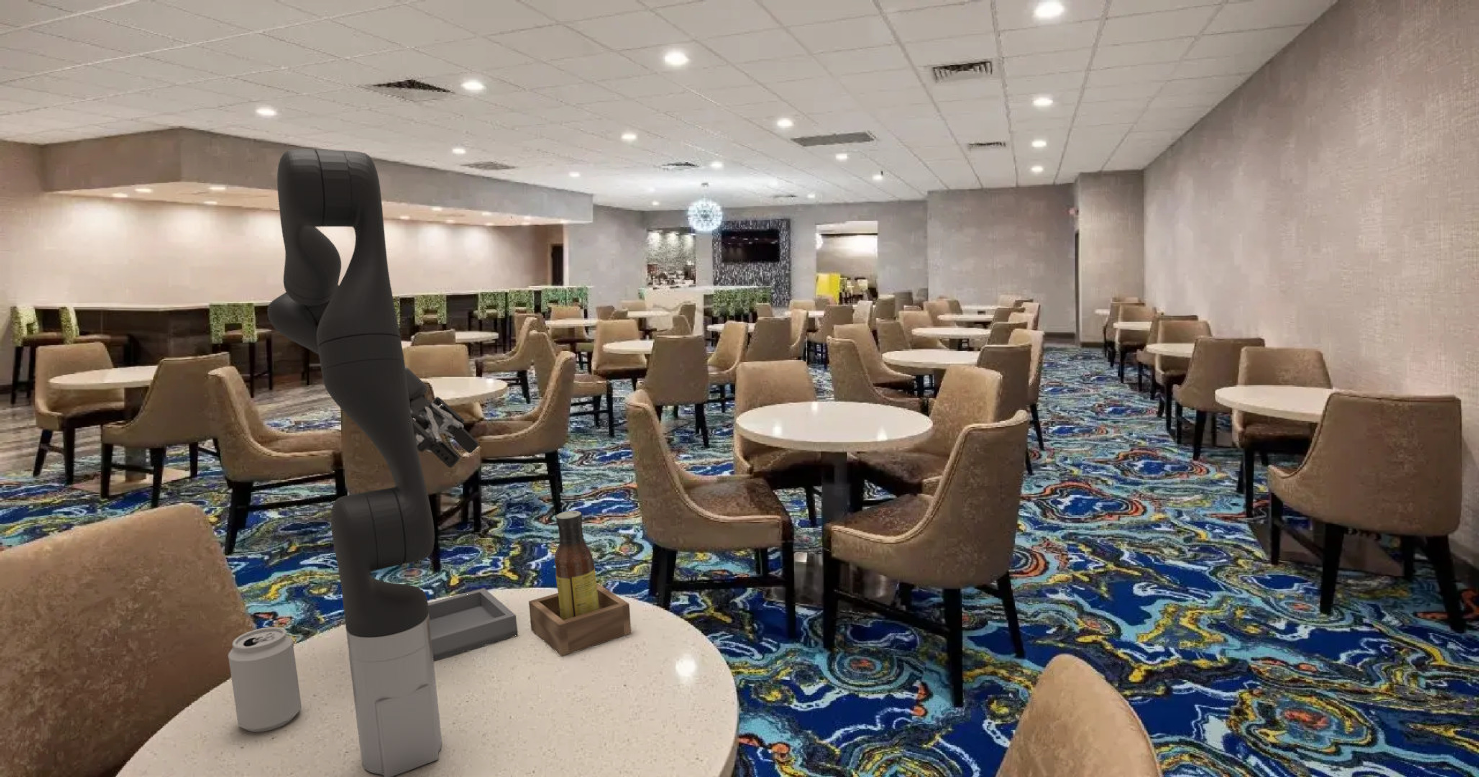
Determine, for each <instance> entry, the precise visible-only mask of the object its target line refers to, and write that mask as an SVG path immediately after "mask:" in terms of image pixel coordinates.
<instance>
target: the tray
mask: <svg viewBox="0 0 1479 777" xmlns="http://www.w3.org/2000/svg"><path fill="white" fill-rule="evenodd" d="M467 594H468V595H467ZM428 610H429V620H430V630H431V641H432V651H433V660H434V662H436V661H439V660H443V659H445V658H449V657H452V656H456V655H459V654H462V653H466V652H469V651H471V650H475V649H478V648H482V647H484V646H488V645H492V644H494V643H498V642H501V640H502V641H504V640H508V639H511V637H512V636H515V635H518V636H519V634H518V623H517V614H515V613H514V612H513V611H511V609H510V608H508V607H507V606H506V605H505V604H503V602H501V601H500V600H499V599H498V598H497V597H495V596H494V595H493V594H492V593H491V592H489V590H487V589H486V588H485V587H483V588H480V589H475V590H471V591H467V592H465V593H461V594H457V595H453V596H449V597H445V598H441V599H439V600H434V601H431V602H428ZM515 637H516V636H515ZM507 638H508V639H507ZM512 638H513V637H512ZM468 650H469V651H468Z"/></svg>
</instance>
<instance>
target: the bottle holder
mask: <svg viewBox="0 0 1479 777" xmlns="http://www.w3.org/2000/svg"><path fill="white" fill-rule="evenodd" d="M596 584H597V593H598V601H599V610H596V611H593V612H589V613H586V614H583V615H580V616H576V617H573V618H570V619H566V620H562V619H561V616H560V607H559V597H558V592H557V593H553V594H550V595H549V594H548V595H546V596H543V597H539V598H536V599H531V600H529V601H528V608H529V620H530V621H529V622H530V629H531V630H530V631H531V632H533V633H534V634H535V633H536V634H537V637H539V638H540V639H541V640H542V641H543V640H544V641H543V642H544V643H545V644H547V645H548V646H549V645H550V646H549V647H550V648H552V649H553V651H555V650H556V651H557V652H556V651H555V652H556V653H557V654H558V655H560V656H561V657H564V656H567V655H570V654H573V653H576V652H578V651H581V650H584V649H587V648H590V647H591V648H592V647H593V646H596V645H600V644H603V643H606V642H609V641H611V640H615V639H618V638H621V637H624V636H626V635H629V634H632V627H631V610H630V609H631V608H630V603H629V602H627V601H626V600H624V599H623V598H621V597H619V595H617V594H614V593H613V592H611V591H610V590H608V589H607V588H605V587H604V586H602V585H601V584H600V583H597V582H596ZM536 634H535V635H536Z"/></svg>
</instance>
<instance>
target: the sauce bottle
mask: <svg viewBox="0 0 1479 777" xmlns="http://www.w3.org/2000/svg"><path fill="white" fill-rule="evenodd" d="M555 519H556V520H555V521H556V525H557V528H558V536H559V537H558V538H559V539H558V540H559V541H558V542H559V545H558V546H557V548H556V551H555V553H554V564H555V580H556V588H557V593H558V597H559V607H560V616H561V619H562V620H566V619H570V618H573V617H576V616H580V615H583V614H586V613H589V612H593V611H596V610H599V601H598V593H597V584H598V583H597V577H596V566H595V562H594V557H593V555H592V552H591V551H590V549H589V547H588V545H587V543H586V542H585V539H584V538H585V537H584V531H583V524H582V523H583V514H582V512H581V511H578V510H569V511H568V510H567V511H564V512H560V513H558V514H556V516H555ZM596 583H597V584H596Z"/></svg>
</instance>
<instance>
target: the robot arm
mask: <svg viewBox="0 0 1479 777" xmlns="http://www.w3.org/2000/svg"><path fill="white" fill-rule="evenodd" d="M276 182H277V183H276V184H277V195H278V196H277V198H278V199H277V200H278V207H279V217H280V225H281V234H282V239H283V245H284V251H285V252H284V253H285V254H284V255H285V257H284V266H283V267H284V269H283V281H282V282H283V288H284V290H285V292H284V293H282V294H281V295H279V296H278V297H276V298H275V299H273V300H272V301H271V302H270V303H269V304H268V307H267V317H268V319H269V322H270V324H271V326H272V327H273V328H274V329H275V330H276V331H277V332H278V333H279V334H281V335H282V336H283V337H285V338H287V339H289V340H290V341H292V342H294V343H296V344H298V345H300V346H301V347H304V348H306V349H308V350H310V351H311V352H313V353H315V354H317V355H318V356H319V357H318V358H319V362H320V363H319V364H320V371H321V374H322V375H321V376H322V381H323V385H324V387H325V390H326V392H327V393H328V394H329V396H330V397H331V399H332V400H333V401H334V402H335V403H336V405H337V406H338V407H339V408H340V409H341V410H342V411H343V413H345V414H346V416H347V417H349V419H350V420H352V421H353V422H354V424H356V425H357V427H358V428H359V429H361V430H362V432H363V433H364V434H365V435H366V436H367V437H368V438H369V439H370V440H371V442H372V443H373V445H374V446H375V447H376V448H377V450H378V451H379V452H380V454H381V456H382V457H383V459H384V461H385V463H386V465H387V467H388V469H389V471H390V473H391V477H392V479H393V482H394V485H395V486H394V487H387V488H382V489H376V490H369V491H364V492H358V493H352V494H348V495H344V496H339V497H338V498H337V499H336V500H334V501H333V502H334V503H333V504H332V506H331V511H330V530H331V537H332V544H333V548H334V553H335V558H336V559H335V560H336V564H337V569H338V574H339V580H340V581H339V582H340V588H341V594H342V595H341V596H342V602H343V603H342V605H343V613H344V622H345V632H346V640H347V650H348V658H349V665H350V666H349V667H350V675H351V684H352V691H353V700H354V709H355V719H356V725H357V726H356V727H357V733H358V734H357V735H358V740H359V741H358V742H359V748H360V759H361V765H362V767H363V769H365V770H366V771H367V772H370V773H372V774H375V775H376V774H377V775H381V776H382V777H395V776H398V775H401V774H404V773H406V772H408V771H411V770H414V769H417V768H420V767H421V766H425V765H427V764H430V763H433V762H435V761H437V760H438V759H439V753H440V750H441V749H442V745H443V742H442V741H443V740H442V732H441V731H442V730H441V729H442V728H441V721H440V720H441V719H440V711H439V702H438V693H437V691H438V690H437V682H436V671H435V661H434V660H433V651H432V641H431V630H430V620H429V610H428V603H429V602H428V598H427V597H428V596H427V595H426V593H425V591H424V590H422V588H420V587H418V586H415V585H410V584H405V583H394V582H388V581H382V580H380V579H377V578H374V577H372V576H371V572H373V571H378V570H381V569H387V568H392V567H396V566H400V565H405V564H409V563H410V564H411V563H414V562H417V561H423V560H425V559H427V558H429V557H430V555H432V553H433V551H434V545H435V526H434V519H433V514H432V509H431V502H430V500H429V499H430V498H429V494H428V490H427V485H426V481H425V477H424V476H425V475H424V473H423V468H422V465H421V464H422V463H421V459H420V455H419V452H421V453H424V451H427V452H429V453H433V454H434V455H435V456H436V457H437V458H438V459H439V460H440V461H441V462H442V463H444V464H445V465H446V466H447V467H448V468H453V467H454V466H455V465H456V464H457V463H459V461H460V460H461V456H460V455H459V454H458V452H457V451H455V450H454V449H453V448H452V447H451V446H450V445H449V444H448V443H446V442H445V441H444V440H442V438H441V434H444V435H447V436H449V437H451V438H452V440H454V441H455V442H456V443H457V444H458V445H459V446H460V447H461V448H463V449H464V450H465V451H466V452H467V454H473V452H474V451H475V450H476V449H477V448H478V447H479V446H480V443H479V441H477V439H476V438H474V437H473V435H471V434H470V433H469V431H467V430H466V429H465V428H464V423H465V419H464V418H463V417H462V416H461V415H460V414H458V412H456V410H454V409H453V408H452V407H451V406H449V405H448V404H447V402H445V401H444V400H443V399H442V398H440V397H439V396H436V397H435V398H434V399H432V401H431V400H429V399H428V398H426V397H425V394H426V393H427V392H428V388H429V387H428V385H427V384H426V383H425V382H424V381H423V380H422V379H420V378H419V377H418V376H417V374H415V373H414V372H413V371H412V370H411V369H410V368H408V366H406V364H405V358H404V351H403V344H402V338H401V334H400V327H399V322H398V318H397V312H396V308H395V302H394V297H393V296H394V295H393V292H392V285H391V280H390V279H391V278H390V272H389V266H388V264H389V263H388V257H387V256H388V255H387V247H386V246H387V245H386V236H385V225H384V223H385V222H384V213H383V200H382V192H381V184H380V179H379V175H378V171H377V168H376V165H375V163H374V161H373V159H372V158H371V156H369V154H367V152H366V153H365V152H360V151H357V150H356V151H355V150H338V149H336V150H335V149H321V148H320V149H318V148H316V149H313V148H292V149H289V150H287V151H285V152H284V153H283V154H282V155H281V157H280V159H279V162H278V168H277V179H276ZM321 227H322V228H323V227H326V228H327V227H334V228H335V227H337V228H339V227H346V228H351V227H352V228H353V229H354V234H355V240H354V249H353V250H354V251H353V253H352V256H351V259H350V261H349V264H348V266H347V268H346V271H345V273H344V276H343V277H342V279H341V281H340V276H341V270H342V258H341V256H340V255H341V254H340V252H339V250H338V249H337V247H336V245H335V244H334V243H333V242H332V241H331V239H330V238H329V237H328V236H327V235H325V234H324V233H323V232H321V230H320V229H318V228H321ZM339 281H340V283H339Z"/></svg>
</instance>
